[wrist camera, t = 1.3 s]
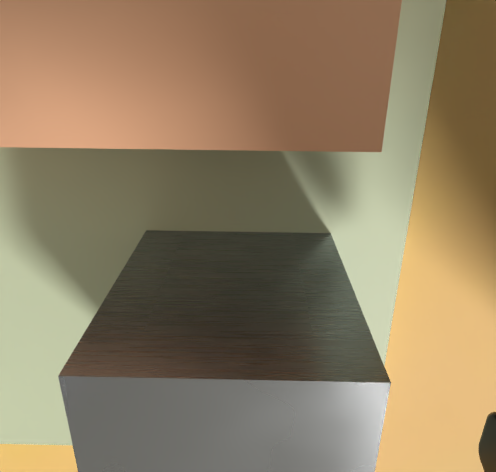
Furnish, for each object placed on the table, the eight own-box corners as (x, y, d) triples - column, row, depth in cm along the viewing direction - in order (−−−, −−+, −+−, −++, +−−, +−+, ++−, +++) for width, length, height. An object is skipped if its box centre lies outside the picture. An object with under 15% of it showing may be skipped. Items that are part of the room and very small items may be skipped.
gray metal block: (330, 233, 10) (390, 382, 6) (317, 378, 12) (354, 582, 7) (146, 230, 10) (58, 376, 6) (159, 375, 12) (100, 575, 7)
